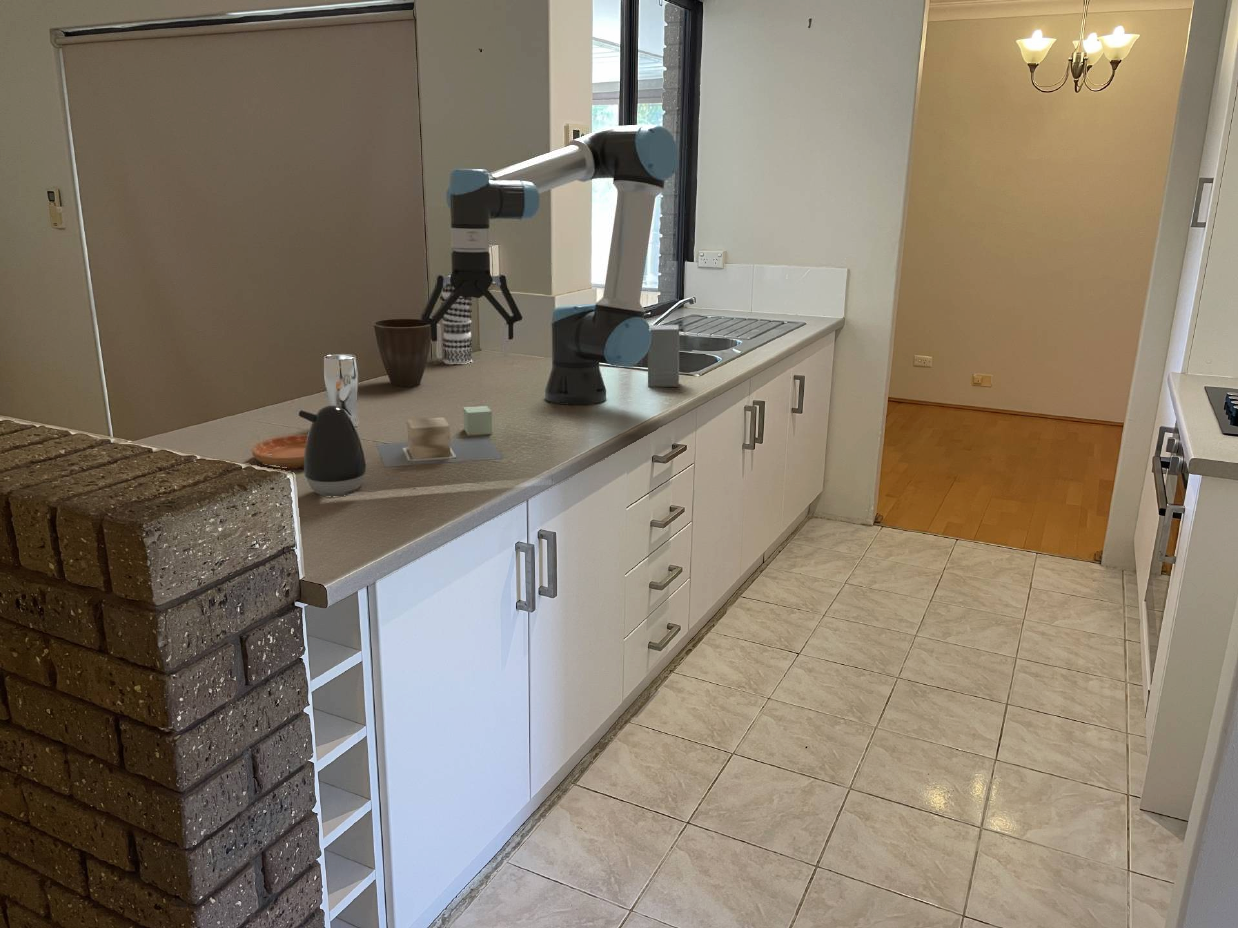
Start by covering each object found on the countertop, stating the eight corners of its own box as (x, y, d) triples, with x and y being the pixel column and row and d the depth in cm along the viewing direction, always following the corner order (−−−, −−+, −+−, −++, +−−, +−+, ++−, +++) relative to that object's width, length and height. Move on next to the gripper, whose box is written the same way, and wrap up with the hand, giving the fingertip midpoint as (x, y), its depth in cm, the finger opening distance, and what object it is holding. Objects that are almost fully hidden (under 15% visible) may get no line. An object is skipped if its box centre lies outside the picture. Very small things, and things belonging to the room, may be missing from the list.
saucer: (255, 476, 171) (254, 460, 170) (250, 452, 185) (249, 438, 184) (346, 467, 177) (345, 451, 176) (335, 445, 191) (334, 431, 190)
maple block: (444, 447, 186) (443, 417, 184) (450, 456, 180) (449, 426, 178) (408, 449, 184) (407, 419, 182) (412, 459, 178) (411, 428, 176)
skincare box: (678, 383, 256) (681, 324, 251) (677, 388, 249) (680, 328, 244) (647, 382, 256) (649, 323, 252) (645, 387, 250) (647, 327, 245)
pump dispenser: (311, 483, 167) (305, 399, 162) (372, 483, 167) (367, 399, 163) (297, 502, 157) (290, 413, 152) (362, 501, 158) (356, 413, 153)
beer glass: (367, 423, 208) (363, 355, 204) (348, 430, 202) (344, 360, 197) (340, 419, 210) (335, 352, 206) (321, 427, 204) (316, 358, 200)
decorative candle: (455, 366, 273) (453, 278, 265) (435, 361, 278) (432, 275, 271) (480, 362, 279) (478, 276, 272) (460, 358, 285) (457, 273, 278)
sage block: (487, 433, 202) (486, 406, 200) (492, 439, 197) (491, 411, 195) (464, 435, 200) (463, 407, 198) (468, 441, 196) (467, 412, 194)
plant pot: (444, 386, 246) (442, 324, 242) (389, 392, 238) (386, 328, 234) (421, 376, 258) (419, 317, 253) (368, 381, 250) (364, 320, 245)
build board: (487, 442, 194) (487, 436, 194) (503, 464, 180) (503, 457, 180) (377, 450, 188) (376, 443, 187) (385, 473, 173) (384, 466, 173)
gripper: (408, 251, 181) (412, 361, 187) (536, 251, 188) (536, 357, 194) (404, 248, 188) (408, 354, 194) (528, 249, 195) (528, 351, 201)
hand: (472, 356), depth 194 cm, fingers open, 13 cm apart
